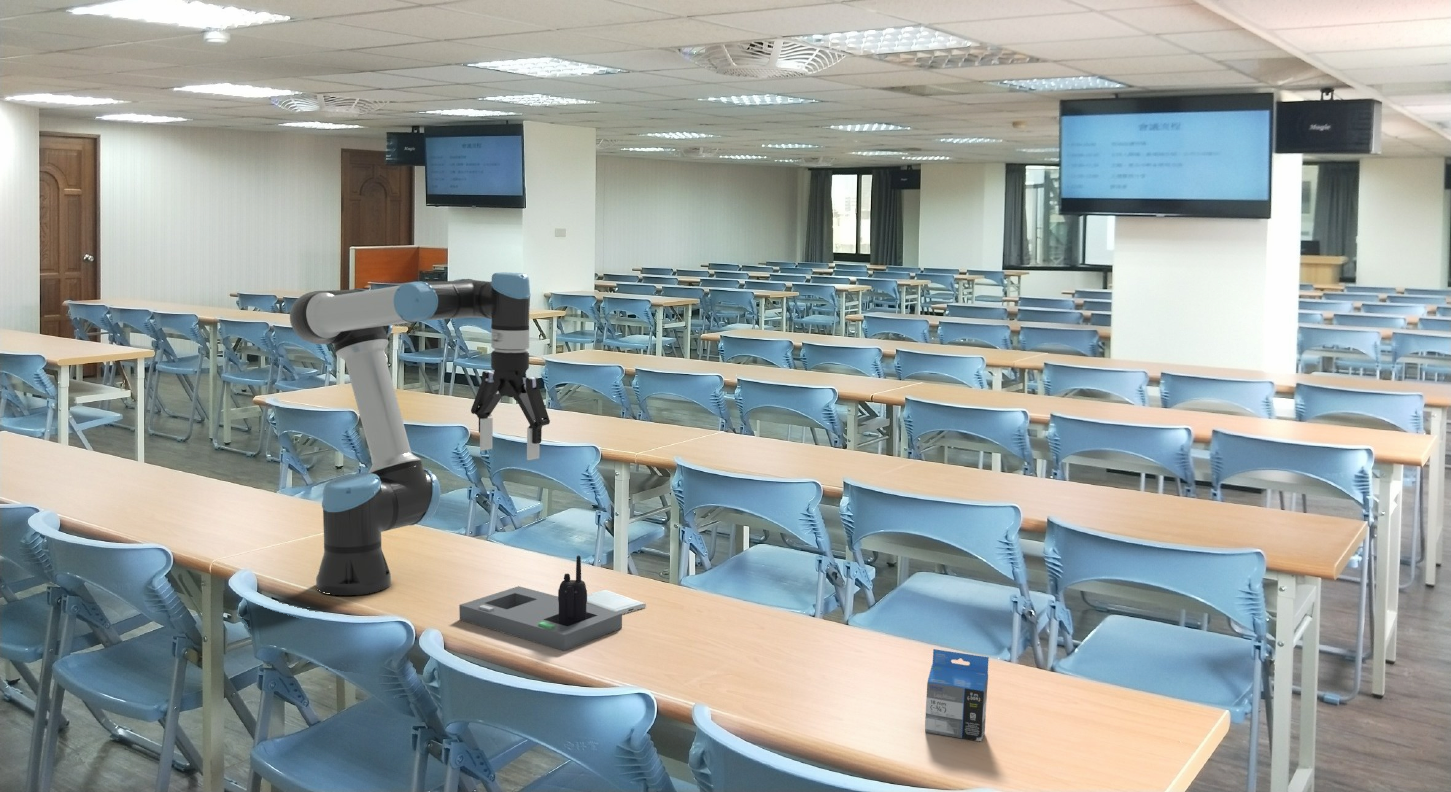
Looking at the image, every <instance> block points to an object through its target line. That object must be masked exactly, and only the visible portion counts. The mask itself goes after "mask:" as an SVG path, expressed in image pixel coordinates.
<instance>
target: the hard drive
mask: <svg viewBox="0 0 1451 792" xmlns="http://www.w3.org/2000/svg"><path fill="white" fill-rule="evenodd" d="M586 604H588V605H592V606H596V607H600V608H604V609H608V610H611V611H615V612H619V613H622V615H625V614H628V613H627V612H629V613H631V611H632V612H636V611H638V610H637V609H639V610H641V608H643V609H646V608H647V604H646V603H645V602H642V601H639V600H636V599H634V598H631V597H627V596H625V595H622V594H619V593H616V592H614V591H610V590H608V589H603V590H599V591H596V592H592V593H587V603H586ZM645 607H646V608H645ZM635 610H636V611H635ZM624 613H625V614H624Z"/></svg>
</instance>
